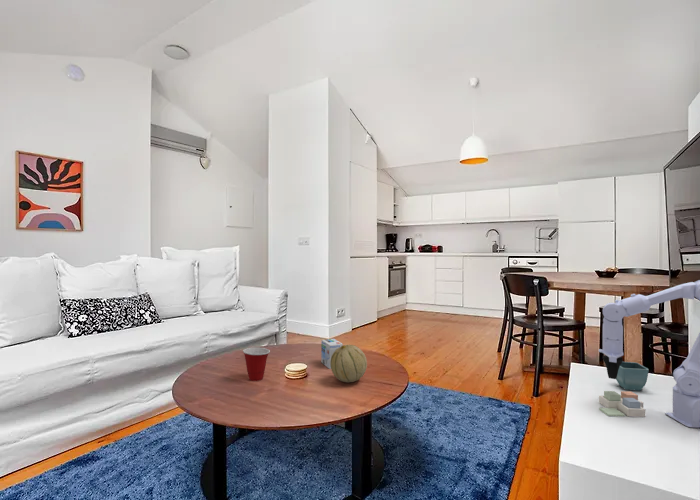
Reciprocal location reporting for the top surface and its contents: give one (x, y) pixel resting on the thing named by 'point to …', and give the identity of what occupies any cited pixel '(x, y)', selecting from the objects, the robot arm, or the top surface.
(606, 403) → the button strip
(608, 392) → the sage button
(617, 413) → the sage swatch
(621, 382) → the flower pot
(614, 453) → the top surface
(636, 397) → the orange-brown cube
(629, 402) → the blue-grey cube
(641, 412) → the side socket
